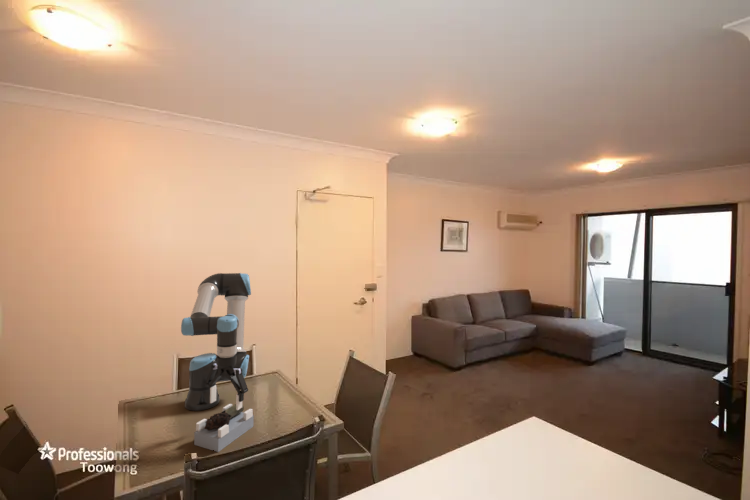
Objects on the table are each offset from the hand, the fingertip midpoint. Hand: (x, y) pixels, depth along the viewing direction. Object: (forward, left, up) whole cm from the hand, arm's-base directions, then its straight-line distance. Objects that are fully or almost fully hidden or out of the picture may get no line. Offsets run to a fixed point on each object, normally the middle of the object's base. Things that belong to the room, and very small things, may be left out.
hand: (225, 405), depth 146 cm
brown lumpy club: (0, 0, -8) cm, 8 cm away
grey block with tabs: (0, 0, -12) cm, 12 cm away
